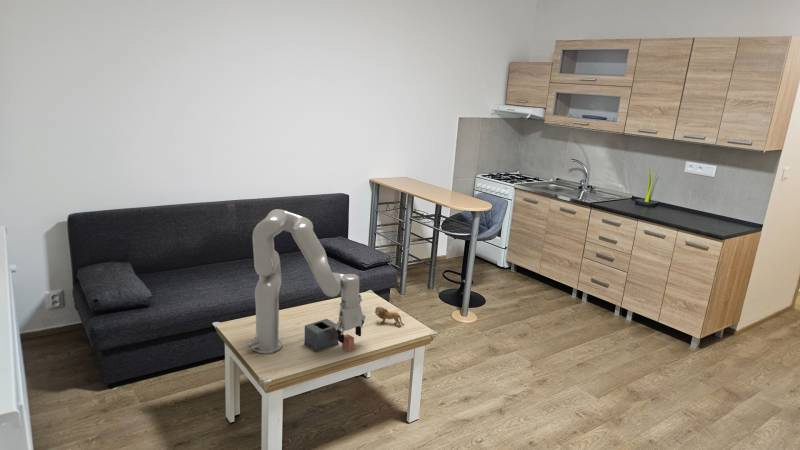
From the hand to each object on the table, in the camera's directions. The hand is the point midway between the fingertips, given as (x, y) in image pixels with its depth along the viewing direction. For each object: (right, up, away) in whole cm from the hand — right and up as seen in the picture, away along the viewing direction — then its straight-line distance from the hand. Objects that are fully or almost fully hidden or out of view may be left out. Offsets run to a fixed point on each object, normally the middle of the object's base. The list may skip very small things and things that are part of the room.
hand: (349, 338), depth 231 cm
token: (-1, -4, +1) cm, 5 cm away
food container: (-2, +5, +38) cm, 38 cm away
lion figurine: (+16, +1, +26) cm, 31 cm away
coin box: (-13, -3, +3) cm, 14 cm away
